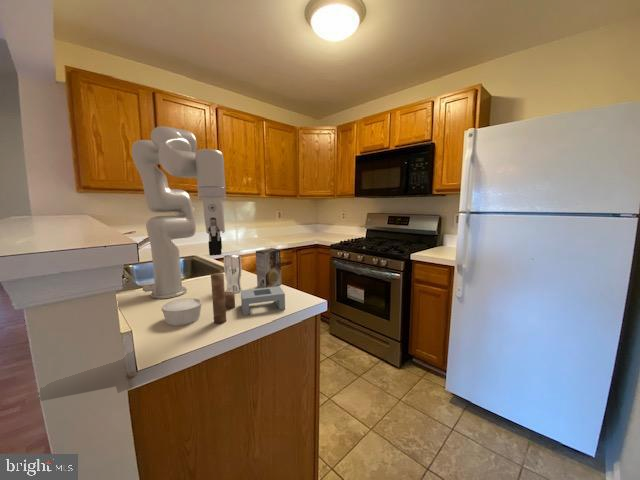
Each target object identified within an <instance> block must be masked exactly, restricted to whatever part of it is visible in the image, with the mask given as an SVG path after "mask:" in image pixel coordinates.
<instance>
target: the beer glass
mask: <svg viewBox="0 0 640 480" xmlns="http://www.w3.org/2000/svg"><path fill="white" fill-rule="evenodd" d="M242 267H243V266H242V257H241V254H239V253H237V254H235V253H233V254H232V253H231V254H226V255H223V270H224V271H223V272H224V276H225V280H226V292H225V293H227V292H234V294H238V293H241V290H243V289H242V286H241V277H242Z"/></svg>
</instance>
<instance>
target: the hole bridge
mask: <svg viewBox="0 0 640 480" xmlns="http://www.w3.org/2000/svg"><path fill="white" fill-rule="evenodd" d="M240 299H241V300H240V301H241V311H242V315H243V316H245V315H250V304H253V305H254V304H258V303H267V302H274V303H275V304H276V307H277V308H278V310H280V311H281V309H282V310H286V293H285V291H284V290H283V289H282V287H281V285H278V286H275V287H268V288H260V287H258V288H252V289H242V290H241V292H240Z"/></svg>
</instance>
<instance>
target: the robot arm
mask: <svg viewBox="0 0 640 480" xmlns="http://www.w3.org/2000/svg"><path fill="white" fill-rule="evenodd" d="M197 147H198V141H197V139H196V136H195V135H194V134H193V132H192V131H189V130H185V129H181V128H175V127H171V126H165V125H164V126H163V125H162V126H156V127H155V128H153V129H152V131H151V132H150V140H149V139H140V140H136V141H134V143H132V147H131V154H132V161H133V163H134V167H136V170H137V172H138V173H139V175H140V177H141V182H142V186H143V192H144V197H145V203H146V205H147V209H148V210H149V211H150V212H151V213H155V214H169V213H170V214H171V215H157V216H153V217H150V218H149V219H148V220H147V221H146V223H145V228H146V229H145V230H146V232H147V235H148V236H147V237H148V239H149V243H150V252H151V260H152V269H153V280H154V281H153V282H154V284H152V285H143V286H142V291H143V292H145V293H146V292H147V293H148V292H151V293H150V295H151V298H153V299H157V300H158V299H160V300H161V299H163V300H164V299H170V298H175V297H179V296H182V295H184V294H186V293H187V287H186V286H183V283H182V268H181V259H180V250H179V248H178V246H177V245H176V244H175V243H174V242H173V241H172V240H177V239H180V240H181V239H186V238H191V237H194V236H195V234H196V231H197V229H196V228H197V227H196V218H195V214H194V209H193V203H192V198H191V196H190V194H189V193H188V191H185V190H184V189H177V188H175V189H173V188H170V186H169V183H168V177H167V176H166V174H165V173H164V172H163V171H162V170H161V169H160V168H159V167H158V166H157V165H160V166H161V168H162V169H163V170H164V171H165V172H167V174H169V175H171V176H173V177H177V178H189V179H196V184H197V196H198V197H197V199H198V200H202V201H203V202H202V206H203V216H204V217H203V218H204V226H205V231H206V234H208V252H209V256H211V257H212V256H221V255H222V250H223V246H222V245H223V244H222V243H223V242H222V237H221V232H222V234H225V232H226V231H225V227H226V226H225V213H224V212H225V211H224V202H223V200H227V193H226V192H227V191H226V178H225V177H226V175H225V160H224V159H225V158H224V154H223V152H222V151H220V150H217V149H215V148H214V149H212V148H201V149H198V150H197ZM172 213H177V214H178V215H172Z"/></svg>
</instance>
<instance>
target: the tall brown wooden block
mask: <svg viewBox="0 0 640 480" xmlns="http://www.w3.org/2000/svg"><path fill="white" fill-rule="evenodd" d="M224 276H225V273H222V272H215V273H211V275H210V280H211V281H210V283H211V285H210V286H211V297H212V300H211V301H212V310H213V311H212V313H213V323H214V324H215V325H221V324H226V322H227V312H226V310H227V309H226V306H225V293H226V292H225V277H224Z"/></svg>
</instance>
